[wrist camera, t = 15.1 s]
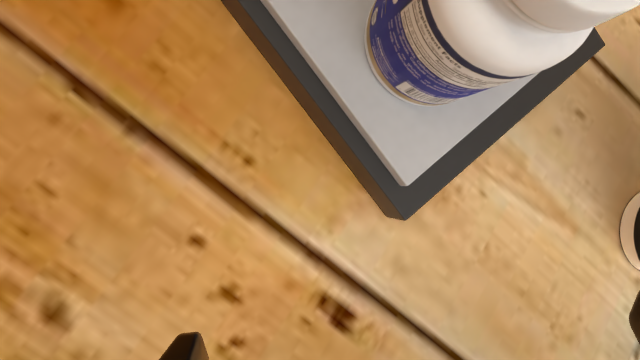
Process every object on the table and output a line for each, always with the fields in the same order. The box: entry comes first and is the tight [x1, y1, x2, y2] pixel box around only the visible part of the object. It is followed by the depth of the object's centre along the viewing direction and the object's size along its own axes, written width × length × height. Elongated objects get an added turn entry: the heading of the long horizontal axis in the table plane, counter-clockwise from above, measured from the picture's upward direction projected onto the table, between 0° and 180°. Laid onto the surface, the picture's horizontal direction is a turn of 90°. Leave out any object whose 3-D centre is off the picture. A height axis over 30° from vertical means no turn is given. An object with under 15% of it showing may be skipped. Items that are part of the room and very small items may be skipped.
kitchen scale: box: [221, 0, 605, 220], centre depth 20 cm, size 13×13×3 cm
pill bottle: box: [364, 0, 640, 107], centre depth 14 cm, size 5×5×9 cm
